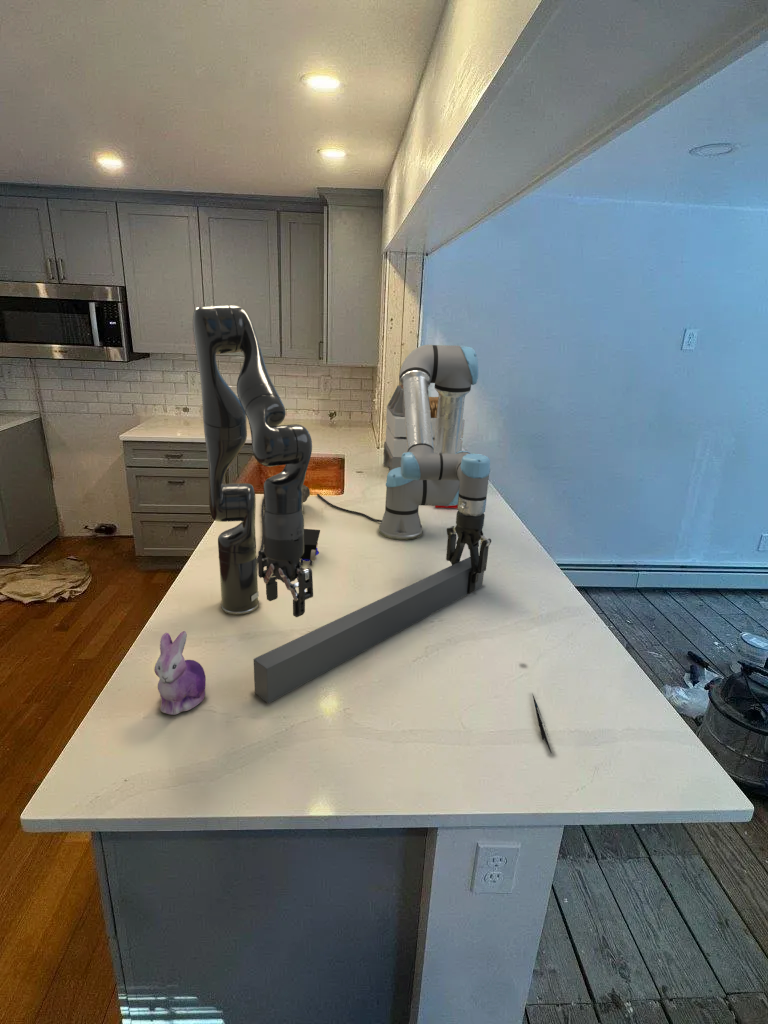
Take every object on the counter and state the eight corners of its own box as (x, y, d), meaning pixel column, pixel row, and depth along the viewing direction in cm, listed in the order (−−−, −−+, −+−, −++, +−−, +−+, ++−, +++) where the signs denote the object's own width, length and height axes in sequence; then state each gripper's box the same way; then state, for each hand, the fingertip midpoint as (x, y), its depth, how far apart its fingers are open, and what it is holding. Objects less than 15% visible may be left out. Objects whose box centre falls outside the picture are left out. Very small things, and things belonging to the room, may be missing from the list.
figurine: (161, 723, 106) (153, 655, 100) (154, 691, 114) (147, 626, 109) (213, 709, 110) (208, 643, 105) (202, 680, 118) (198, 616, 113)
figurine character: (316, 572, 171) (321, 547, 184) (316, 550, 168) (320, 527, 181) (294, 572, 171) (300, 547, 184) (293, 550, 167) (299, 526, 181)
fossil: (279, 491, 226) (308, 470, 221) (295, 509, 228) (323, 489, 223) (264, 515, 206) (294, 493, 201) (281, 534, 209) (312, 514, 204)
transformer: (382, 463, 289) (386, 382, 275) (445, 464, 293) (451, 384, 279) (390, 482, 257) (394, 392, 243) (460, 483, 261) (468, 394, 247)
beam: (469, 581, 167) (472, 555, 165) (482, 586, 164) (485, 560, 162) (254, 693, 115) (253, 658, 112) (268, 703, 112) (266, 668, 110)
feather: (523, 669, 129) (529, 663, 128) (551, 758, 102) (558, 750, 101) (517, 665, 128) (523, 659, 128) (543, 753, 102) (550, 746, 101)
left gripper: (245, 525, 109) (248, 600, 114) (291, 547, 99) (292, 628, 105) (277, 516, 114) (278, 589, 119) (323, 536, 105) (323, 614, 110)
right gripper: (436, 506, 156) (430, 582, 164) (490, 523, 145) (481, 604, 153) (453, 500, 162) (446, 574, 170) (506, 517, 150) (496, 595, 158)
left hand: (285, 607), depth 112 cm, fingers open, 8 cm apart
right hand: (463, 588), depth 161 cm, fingers closed on beam, 5 cm apart
